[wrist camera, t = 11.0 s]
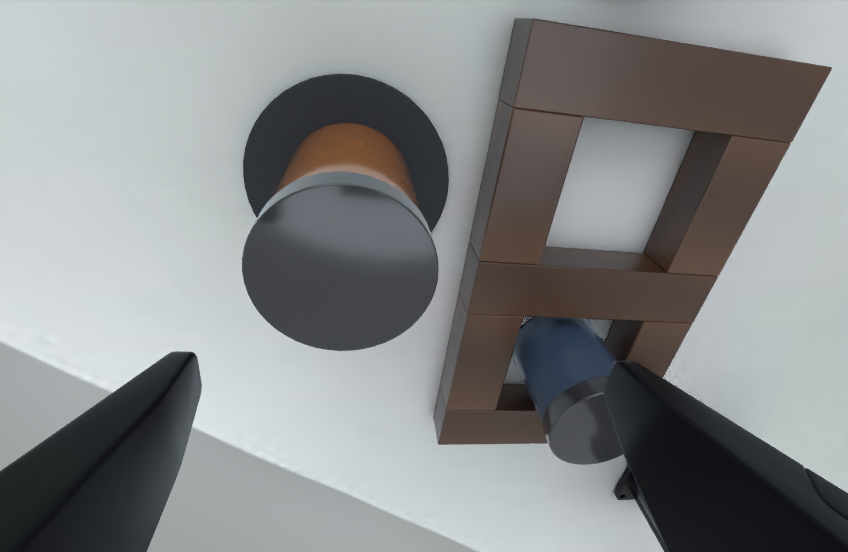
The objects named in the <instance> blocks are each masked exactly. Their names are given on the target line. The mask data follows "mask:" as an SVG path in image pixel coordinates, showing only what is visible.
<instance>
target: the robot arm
mask: <svg viewBox="0 0 848 552" xmlns="http://www.w3.org/2000/svg"><path fill="white" fill-rule="evenodd" d="M201 388H202V384H201V377H200V371H199V365H198V360H197V356H196V354H195V353H193V352H171V353H169V354H168V355H166V356H165V357H163V358H162V359H160V360H159V361H158V362H156V363H155V364H153V365H152V366H150V367H149V368H148V369H146V370H145V371H143V372H142V373H140V374H139V375H138V376H136V377H135V378H133V379H132V380H130V381H129V382H127V383H126V384H125V385H123V386H122V387H120V388H119V389H117V390H116V391H115V392H113V393H112V394H110V395H109V396H107V397H106V398H105V399H103V400H102V401H100V402H99V403H97V404H96V405H95V406H93V407H92V408H90V409H89V410H88V411H86V412H84V413H83V414H82V415H80V416H79V417H77V418H76V419H74V420H73V421H72V422H70V423H69V424H67V425H66V426H65V427H63V428H61V429H60V430H59V431H57V432H56V433H54V434H53V435H52V436H50V437H49V438H47V439H46V440H44V441H43V442H41V443H40V444H39V445H37V446H36V447H34V448H33V449H31V450H30V451H28V452H27V453H26V454H24V455H23V456H21V457H20V458H18V459H17V460H16V461H14V462H13V463H11V464H10V465H9V466H7V467H6V468H4V469H3V470H1V471H0V552H147V549H148V546H149V544H150V542H151V539H152V537H153V534H154V532H155V529H156V527H157V525H158V522H159V520H160V517H161V515H162V512H163V510H164V507H165V505H166V502H167V500H168V497H169V495H170V492H171V490H172V488H173V485H174V483H175V480H176V477H177V475H178V472H179V469H180V466H181V463H182V460H183V456H184V453H185V449H186V446H187V442H188V438H189V435H190V431H191V428H192V424H193V420H194V417H195V413H196V409H197V406H198V402H199V399H200V395H201ZM604 398H605V401H606V404H607V407H608V410H609V413H610V416H611V419H612V422H613V424H614V427H615V430H616V433H617V436H618V439H619V442H620V445H621V448H622V450H623V453H624V456H625V458H626V461H627V463H628V465H629V467H628V469H627V471H626V473H625V474H624V476H623V478H622V480H621V481H620V483H619V485H618V487H617V488H616V490H615V492H614V494H615V496H616V498H617V499H618V500H632V499H635V500H636V502H637V504H638V506H639V507H640V509H641V511H642V513H643V515H644V516H645V518H646V520H647V522H648V523H649V525H650V527H651V529H652V531H653V532H654V534H655V536H656V538H657V539H658V541H659V543H660V545H661V547H662V548H663V550H664V552H848V493H846V492H845V491H843V490H842V489H840V488H838V487H837V486H835V485H833V484H832V483H830V482H828V481H827V480H825V479H824V478H822V477H820V476H819V475H817V474H816V473H814V472H812V471H811V470H809V469H807V468H804V467H803V466H802V465H801V464H799V463H798V462H796V461H795V460H793V459H791V458H790V457H788V456H787V455H785V454H783V453H782V452H780V451H779V450H777V449H775V448H774V447H772V446H771V445H769V444H767V443H766V442H764V441H762V440H761V439H759V438H758V437H756V436H754V435H753V434H751V433H750V432H748V431H746V430H745V429H743V428H742V427H740V426H738V425H737V424H735V423H734V422H732V421H730V420H729V419H727V418H726V417H724V416H722V415H721V414H719V413H718V412H716V411H714V410H713V409H711V408H710V407H708V406H706V405H705V404H703V403H702V402H700V401H698V400H697V399H695V398H693V397H692V396H690V395H689V394H687V393H685V392H684V391H682V390H681V389H679V388H677V387H676V386H674V385H673V384H671V383H669V382H668V381H666V380H665V379H663V378H661V377H660V376H658V375H657V374H655V373H653V372H652V371H650V370H649V369H647V368H645V367H644V366H642V365H641V364H639V363H637V362H635V361H617V362H616V363H615V364H614V366H613V368H612V370H611V372H610V374H609V377H608V379H607V381H606V383H605V386H604Z"/></svg>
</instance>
